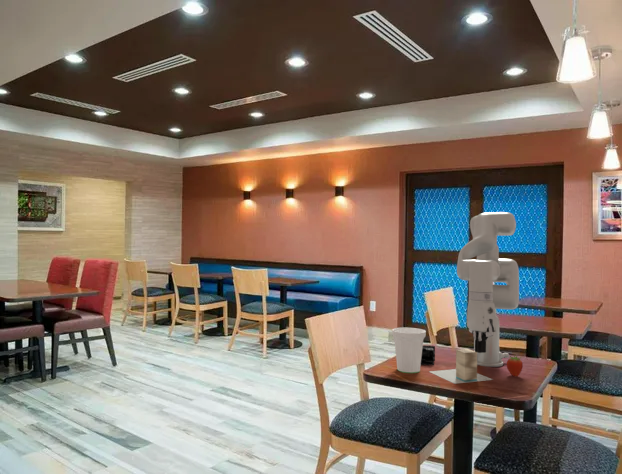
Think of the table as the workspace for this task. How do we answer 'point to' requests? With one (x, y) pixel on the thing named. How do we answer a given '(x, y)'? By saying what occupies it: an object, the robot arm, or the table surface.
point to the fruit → (514, 366)
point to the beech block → (466, 365)
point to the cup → (408, 348)
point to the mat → (451, 376)
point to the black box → (428, 355)
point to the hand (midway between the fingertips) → (480, 352)
